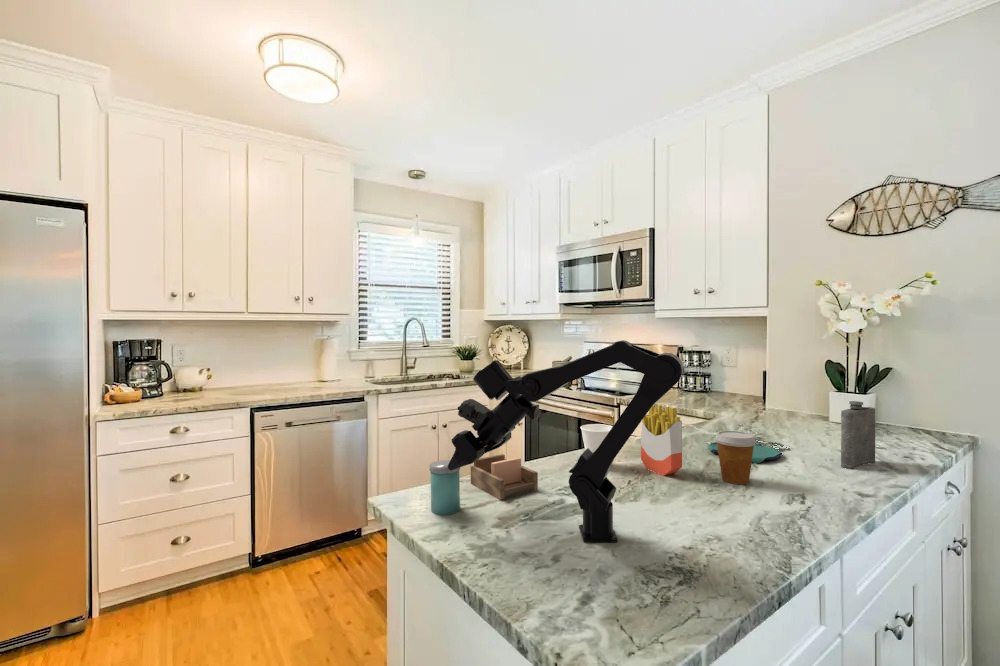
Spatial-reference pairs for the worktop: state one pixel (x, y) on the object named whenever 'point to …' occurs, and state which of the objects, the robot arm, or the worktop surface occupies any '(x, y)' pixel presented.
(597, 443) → the cup
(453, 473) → the teal lidded canister
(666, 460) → the french fries container
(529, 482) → the small wooden crate
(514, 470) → the bar
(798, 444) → the worktop surface
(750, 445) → the disposable coffee cup
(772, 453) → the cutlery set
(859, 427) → the flask
